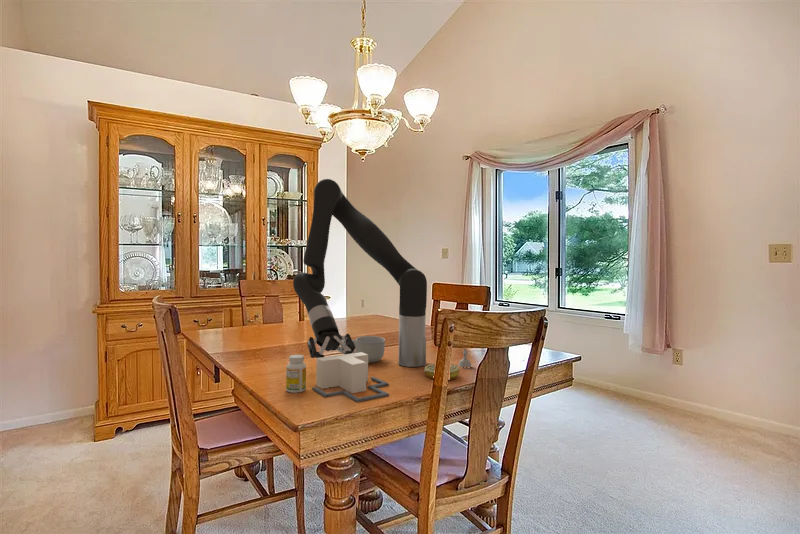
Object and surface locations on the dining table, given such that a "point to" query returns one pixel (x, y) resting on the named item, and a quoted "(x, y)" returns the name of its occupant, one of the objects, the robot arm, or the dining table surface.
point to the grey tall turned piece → (465, 360)
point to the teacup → (370, 347)
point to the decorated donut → (430, 369)
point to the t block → (343, 372)
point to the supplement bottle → (296, 374)
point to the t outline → (356, 399)
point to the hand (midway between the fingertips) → (338, 365)
